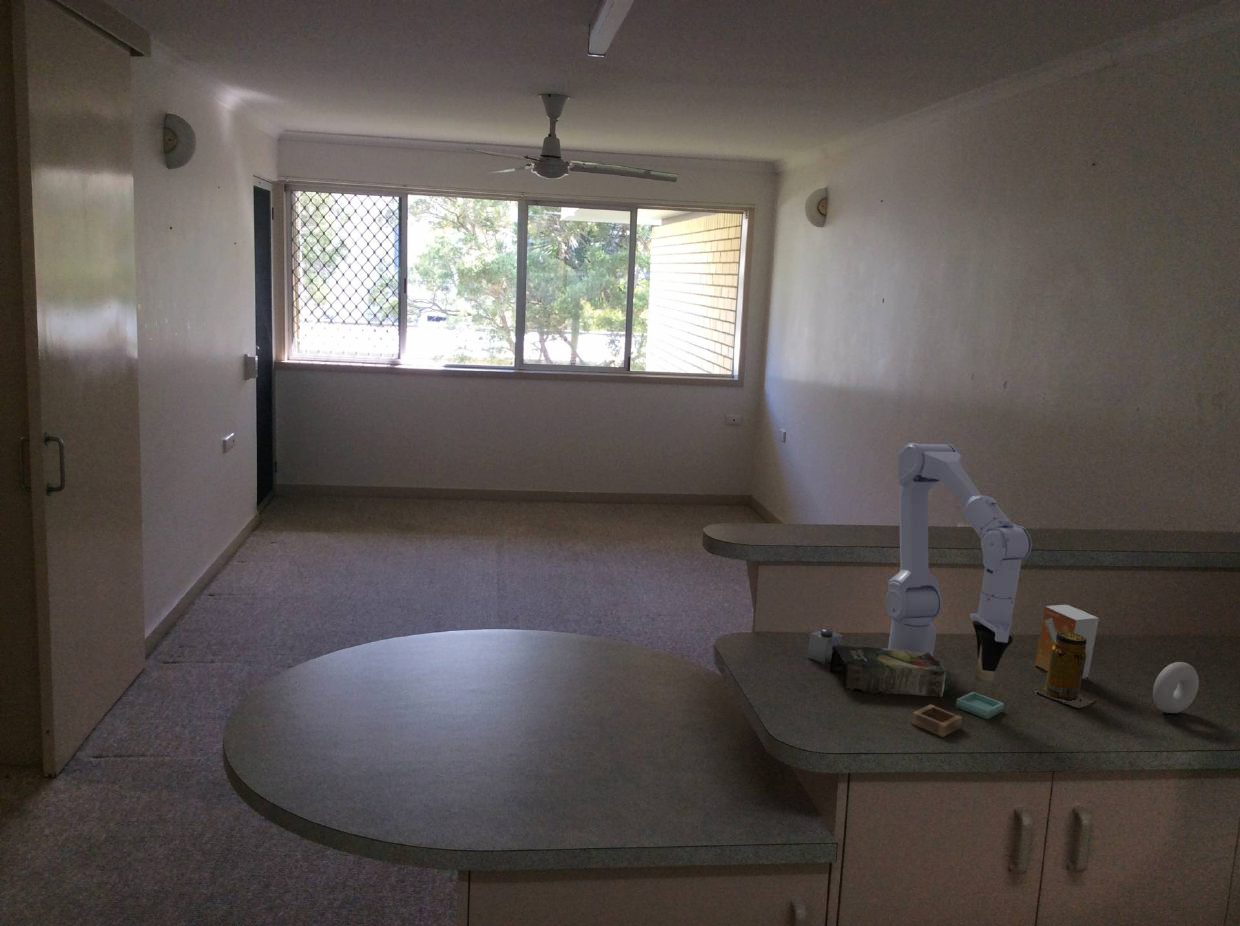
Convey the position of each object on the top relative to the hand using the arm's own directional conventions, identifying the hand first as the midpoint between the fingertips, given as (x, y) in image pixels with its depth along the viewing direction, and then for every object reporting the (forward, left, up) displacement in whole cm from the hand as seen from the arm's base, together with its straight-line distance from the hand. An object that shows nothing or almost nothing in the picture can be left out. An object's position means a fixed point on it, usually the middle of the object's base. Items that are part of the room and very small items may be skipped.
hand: (986, 666), depth 178 cm
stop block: (+5, -31, -8) cm, 32 cm away
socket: (+13, -1, -8) cm, 16 cm away
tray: (0, 0, -8) cm, 8 cm away
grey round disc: (-31, +22, -8) cm, 39 cm away
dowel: (0, 0, -3) cm, 3 cm away
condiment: (-20, +7, -8) cm, 23 cm away
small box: (-32, +1, -8) cm, 33 cm away
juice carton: (+5, -16, -9) cm, 19 cm away
